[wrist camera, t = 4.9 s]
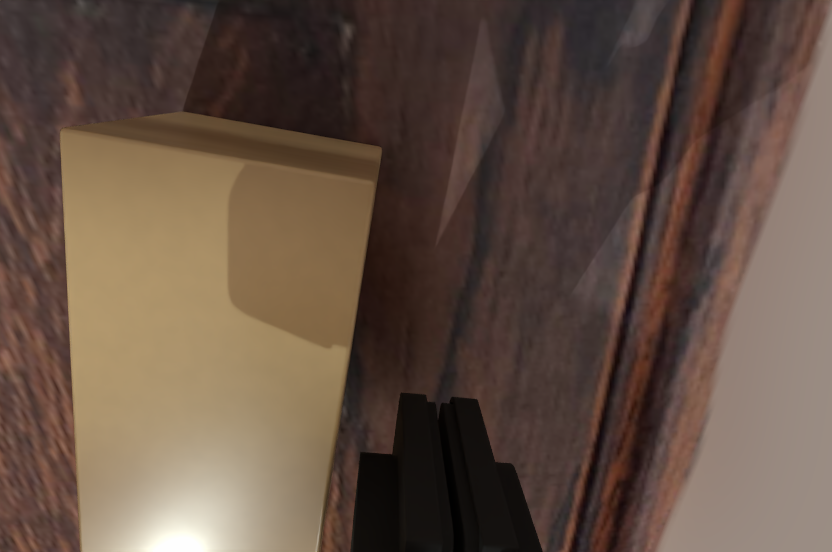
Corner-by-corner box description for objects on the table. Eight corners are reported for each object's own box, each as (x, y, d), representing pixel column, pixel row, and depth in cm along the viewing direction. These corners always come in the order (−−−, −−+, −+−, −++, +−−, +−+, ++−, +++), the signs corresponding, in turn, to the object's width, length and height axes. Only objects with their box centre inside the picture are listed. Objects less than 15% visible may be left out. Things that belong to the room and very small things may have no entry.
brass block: (180, 110, 10) (56, 126, 6) (382, 146, 11) (376, 182, 7) (168, 565, 14) (87, 738, 11) (315, 580, 15) (288, 751, 11)
